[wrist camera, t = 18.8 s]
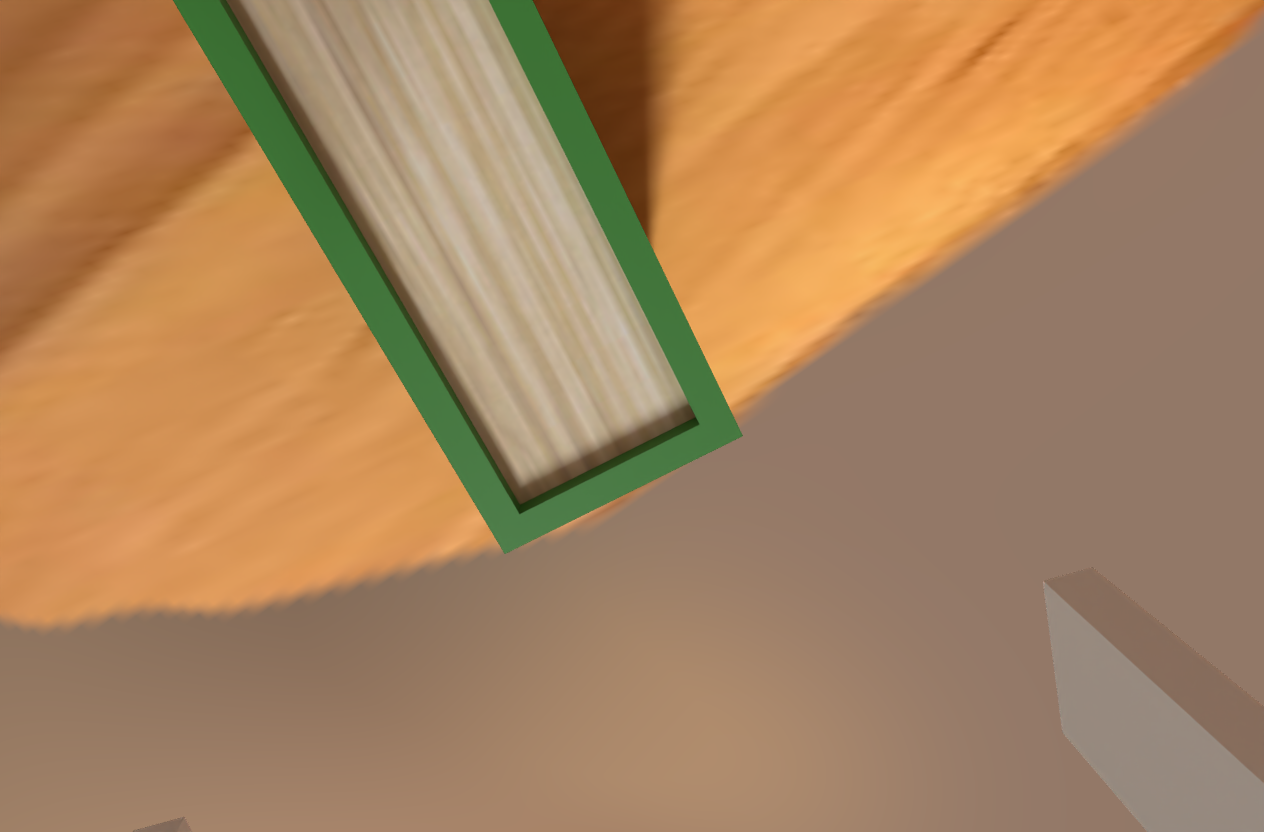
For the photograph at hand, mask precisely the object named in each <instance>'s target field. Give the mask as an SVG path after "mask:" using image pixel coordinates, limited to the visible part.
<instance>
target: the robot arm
mask: <svg viewBox="0 0 1264 832" xmlns="http://www.w3.org/2000/svg"><path fill="white" fill-rule="evenodd" d="M1043 584H1044V592H1045V600H1046V608H1047V616H1048V623H1049V631H1050V639H1051V647H1052V654H1053V662H1054V670H1055V678H1056V684H1057V693H1058V700H1059V709H1060V716H1061V724H1062V732H1063V733H1064V735H1065V736H1066V737H1067V738H1068V739H1069V740H1070V742H1071V743H1072V744H1073V745H1074V746H1075V748H1076V749H1077V750H1078V751H1079V752H1080V753H1081V755H1082V756H1083V757H1084V758H1085V759H1086V761H1087V762H1088V763H1089V764H1090V765H1091V766H1092V767H1093V769H1094V770H1095V771H1096V772H1097V773H1098V775H1099V776H1100V777H1101V778H1102V779H1103V780H1104V781H1105V783H1106V784H1107V785H1108V786H1109V787H1110V788H1111V790H1112V791H1113V792H1114V793H1115V794H1116V796H1117V797H1118V798H1119V799H1120V800H1121V802H1123V804H1124V805H1125V806H1126V807H1127V809H1128V810H1129V811H1130V812H1131V813H1132V814H1133V816H1134V817H1135V818H1136V819H1137V820H1138V821H1139V823H1140V824H1141V825H1142V826H1143V827H1144V828H1145V829H1146V831H1147V832H1264V706H1263V705H1261V704H1260V703H1259V702H1258V701H1257V700H1255V699H1254V698H1253V697H1251V696H1250V695H1249V694H1248V693H1247V692H1245V691H1244V690H1243V689H1242V688H1241V687H1239V686H1238V685H1237V684H1236V683H1234V682H1233V681H1232V680H1231V679H1229V678H1228V677H1227V676H1226V675H1224V674H1223V673H1222V672H1221V671H1219V670H1218V669H1217V668H1216V667H1215V666H1213V665H1212V664H1211V663H1210V662H1208V661H1207V660H1206V659H1205V658H1204V657H1202V656H1201V655H1199V653H1197V652H1196V651H1195V650H1194V649H1192V648H1191V647H1190V646H1189V645H1187V644H1186V643H1185V642H1184V641H1182V640H1181V639H1180V638H1179V637H1178V636H1176V635H1175V634H1174V633H1173V632H1171V631H1170V630H1169V629H1168V628H1167V627H1165V626H1164V625H1163V624H1162V623H1160V622H1159V621H1158V620H1157V619H1155V618H1154V617H1153V616H1152V615H1151V614H1149V613H1148V612H1147V611H1145V610H1144V609H1143V608H1142V607H1141V606H1139V605H1138V604H1137V603H1136V602H1135V601H1133V600H1132V599H1131V598H1130V597H1128V596H1127V595H1126V594H1125V593H1123V592H1122V591H1121V590H1120V589H1119V588H1117V587H1116V586H1115V585H1113V584H1112V583H1111V582H1110V581H1109V580H1107V579H1106V578H1105V577H1104V576H1102V575H1101V574H1100V573H1098V571H1096V570H1095V569H1094V568H1093V567H1092V568H1088V569H1084V570H1081V571H1077V572H1073V573H1070V574H1066V575H1062V576H1059V577H1055V578H1051V579H1048V580H1044V581H1043ZM133 832H192V831H191V829H190V827H189V825H188V823H187V821H186V819H185V817H182V818H178V819H174V820H171V821H167V822H164V823H160V824H156V825H153V826H149V827H145V828H142V829H138V830H134V831H133Z"/></svg>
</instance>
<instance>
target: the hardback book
mask: <svg viewBox="0 0 1264 832" xmlns="http://www.w3.org/2000/svg"><path fill="white" fill-rule="evenodd" d="M173 1H174V3H175V5H176V6H177V8H178V10H179V11H180V13H181V15H182V16H183V18H184V20H185V21H186V23H187V25H188V26H189V28H190V30H191V31H192V33H193V35H194V36H195V38H196V40H197V41H198V43H199V45H200V46H201V48H202V50H203V51H204V53H205V55H206V56H207V58H208V60H209V61H210V63H211V65H212V66H213V68H214V70H215V71H216V73H217V75H218V76H219V78H220V80H221V81H222V83H223V85H224V86H225V88H226V90H227V91H228V93H229V95H230V96H231V98H232V100H233V101H234V103H235V105H236V106H237V108H238V110H239V111H240V113H241V115H242V116H243V118H244V120H245V121H246V123H247V125H248V126H249V128H250V130H251V131H252V133H253V135H254V136H255V138H256V140H257V141H258V143H259V145H260V146H261V148H262V150H263V151H264V153H265V155H266V156H267V158H268V160H269V161H270V163H271V165H272V166H273V168H274V170H275V171H276V173H277V175H278V176H279V178H280V180H281V181H282V183H283V185H284V186H285V188H286V190H287V191H288V193H289V195H290V196H291V198H292V200H293V201H294V203H295V205H296V206H297V208H298V210H299V211H300V213H301V215H302V216H303V218H304V220H305V221H306V223H307V225H308V226H309V228H310V230H311V232H312V233H313V235H314V237H315V238H316V240H317V242H318V243H319V245H320V247H321V248H322V250H323V252H324V253H325V255H326V257H327V258H328V260H329V262H330V263H331V265H332V267H333V268H334V270H335V272H336V273H337V275H338V277H339V278H340V280H341V282H342V283H343V285H344V287H345V288H346V290H347V292H348V293H349V295H350V297H351V298H352V300H353V302H354V303H355V305H356V307H357V308H358V310H359V312H360V313H361V315H362V317H363V318H364V320H365V322H366V323H367V325H368V327H369V328H370V330H371V332H372V333H373V335H374V337H375V338H376V340H377V342H378V343H379V345H380V347H381V348H382V350H383V352H384V353H385V355H386V357H387V358H388V360H389V362H390V363H391V365H392V367H393V368H394V370H395V372H396V373H397V375H398V377H399V378H400V380H401V382H402V383H403V385H404V387H405V388H406V390H407V392H408V393H409V395H410V397H411V398H412V400H413V402H414V403H415V405H416V407H417V408H418V410H419V412H420V413H421V415H422V417H423V418H424V420H425V422H426V423H427V425H428V427H429V428H430V430H431V432H432V433H433V435H434V437H435V438H436V440H437V442H438V443H439V445H440V447H441V448H442V450H443V452H444V453H445V455H446V457H447V458H448V460H449V462H450V463H451V465H452V467H453V468H454V470H455V472H456V473H457V475H458V477H459V478H460V480H461V482H462V483H463V485H464V487H465V488H466V490H467V492H468V493H469V495H470V497H471V498H472V500H473V502H474V503H475V505H476V507H477V508H478V510H479V512H480V513H481V515H482V517H483V518H484V520H485V522H486V523H487V525H488V527H489V528H490V530H491V532H492V533H493V535H494V537H495V538H496V540H497V542H498V543H499V545H500V547H501V548H502V550H503V552H504V553H505V554H506V553H508V552H510V551H512V550H514V549H516V548H518V547H520V546H522V545H524V544H526V543H528V542H530V541H532V540H534V539H536V538H538V537H540V536H542V535H544V534H546V533H548V532H550V531H552V530H554V529H556V528H558V527H560V526H562V525H564V524H567V523H569V522H571V521H573V520H575V519H577V518H579V517H581V516H583V515H585V514H587V513H589V512H591V511H593V510H595V509H597V508H599V507H601V506H603V505H605V504H607V503H609V502H611V501H613V500H615V499H617V498H619V497H621V496H623V495H625V494H627V493H629V492H631V491H633V490H635V489H637V488H639V487H641V486H643V485H645V484H647V483H649V482H651V481H653V480H655V479H657V478H659V477H661V476H663V475H665V474H667V473H669V472H671V471H673V470H675V469H677V468H679V467H681V466H683V465H685V464H687V463H689V462H691V461H693V460H695V459H697V458H699V457H702V456H703V455H706V454H707V453H710V452H712V451H714V450H716V449H718V448H720V447H722V446H724V445H726V444H728V443H730V442H732V441H734V440H736V439H737V438H740V437H742V436H743V435H742V433H741V431H740V429H739V427H738V425H737V423H736V421H735V419H734V417H733V414H732V412H731V410H730V408H729V406H728V404H727V402H726V400H725V398H724V396H723V394H722V392H721V390H720V388H719V385H718V383H717V381H716V379H715V377H714V375H713V373H712V371H711V369H710V367H709V365H708V363H707V361H706V359H705V356H704V354H703V352H702V350H701V348H700V346H699V344H698V342H697V340H696V338H695V336H694V334H693V332H692V330H691V327H690V325H689V323H688V321H687V319H686V317H685V315H684V313H683V311H682V309H681V307H680V305H679V303H678V301H677V298H676V296H675V294H674V292H673V290H672V288H671V286H670V284H669V282H668V280H667V278H666V276H665V274H664V272H663V269H662V267H661V265H660V263H659V261H658V259H657V257H656V255H655V253H654V251H653V249H652V247H651V245H650V243H649V241H648V238H647V236H646V234H645V232H644V230H643V228H642V226H641V224H640V222H639V220H638V218H637V216H636V214H635V212H634V209H633V207H632V205H631V203H630V201H629V199H628V197H627V195H626V193H625V191H624V189H623V187H622V185H621V183H620V180H619V178H618V176H617V174H616V172H615V170H614V168H613V166H612V164H611V162H610V160H609V158H608V156H607V154H606V151H605V149H604V147H603V145H602V143H601V141H600V139H599V137H598V135H597V133H596V131H595V129H594V127H593V125H592V122H591V120H590V118H589V116H588V114H587V112H586V110H585V108H584V106H583V104H582V102H581V100H580V98H579V96H578V93H577V91H576V89H575V87H574V85H573V83H572V81H571V79H570V77H569V75H568V73H567V71H566V69H565V67H564V64H563V62H562V60H561V58H560V56H559V54H558V52H557V50H556V48H555V46H554V44H553V42H552V40H551V38H550V35H549V33H548V31H547V29H546V27H545V25H544V23H543V21H542V19H541V17H540V15H539V13H538V11H537V9H536V6H535V4H534V2H533V0H173Z"/></svg>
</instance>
